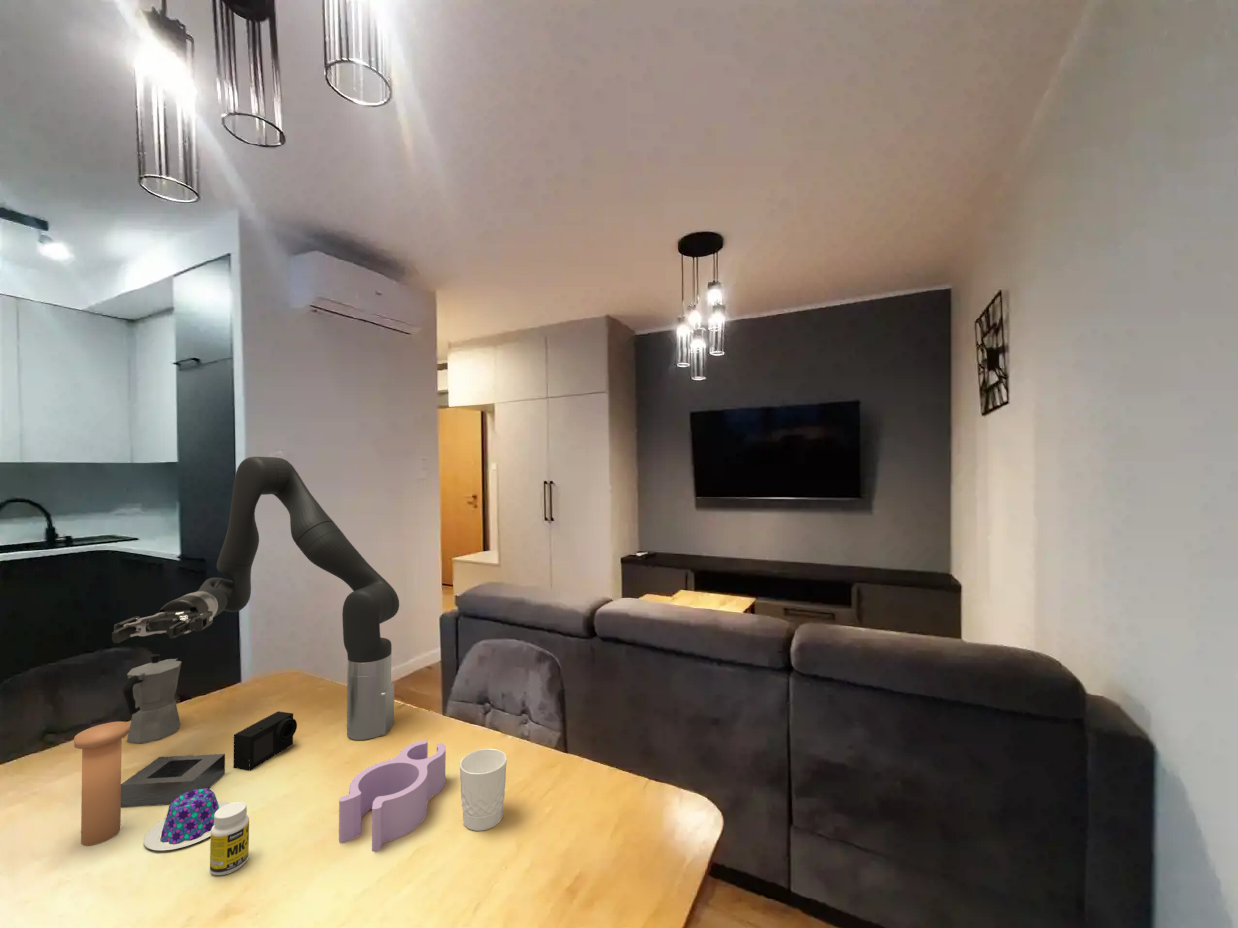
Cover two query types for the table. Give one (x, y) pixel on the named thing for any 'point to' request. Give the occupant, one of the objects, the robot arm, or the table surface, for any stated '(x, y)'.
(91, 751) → the orange capped cylinder
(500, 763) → the white cup
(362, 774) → the clip
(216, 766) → the frame
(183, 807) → the pudding
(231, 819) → the supplement bottle
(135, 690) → the coffeepot
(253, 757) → the digital camera
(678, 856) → the table surface
